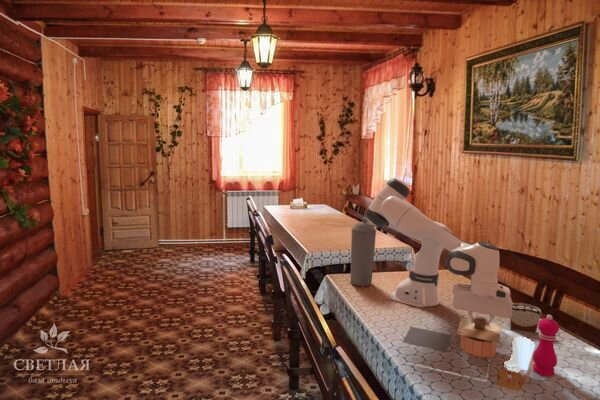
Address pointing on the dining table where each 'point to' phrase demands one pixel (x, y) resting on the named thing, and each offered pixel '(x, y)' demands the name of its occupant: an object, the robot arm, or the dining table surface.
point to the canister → (362, 253)
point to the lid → (479, 329)
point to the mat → (428, 339)
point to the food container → (524, 318)
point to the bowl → (478, 346)
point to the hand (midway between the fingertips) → (480, 324)
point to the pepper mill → (546, 347)
